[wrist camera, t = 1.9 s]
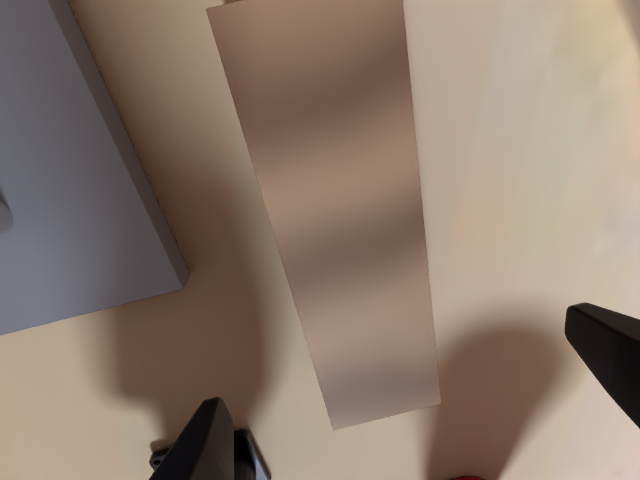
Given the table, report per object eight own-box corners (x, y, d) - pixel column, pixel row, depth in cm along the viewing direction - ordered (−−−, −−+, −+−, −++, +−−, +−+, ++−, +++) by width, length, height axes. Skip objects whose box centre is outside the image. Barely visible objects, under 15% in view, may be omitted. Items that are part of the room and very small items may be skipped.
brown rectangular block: (407, 336, 22) (441, 403, 18) (321, 358, 22) (333, 430, 18) (360, -4, 14) (398, -38, 10) (227, 28, 14) (205, 8, 10)
